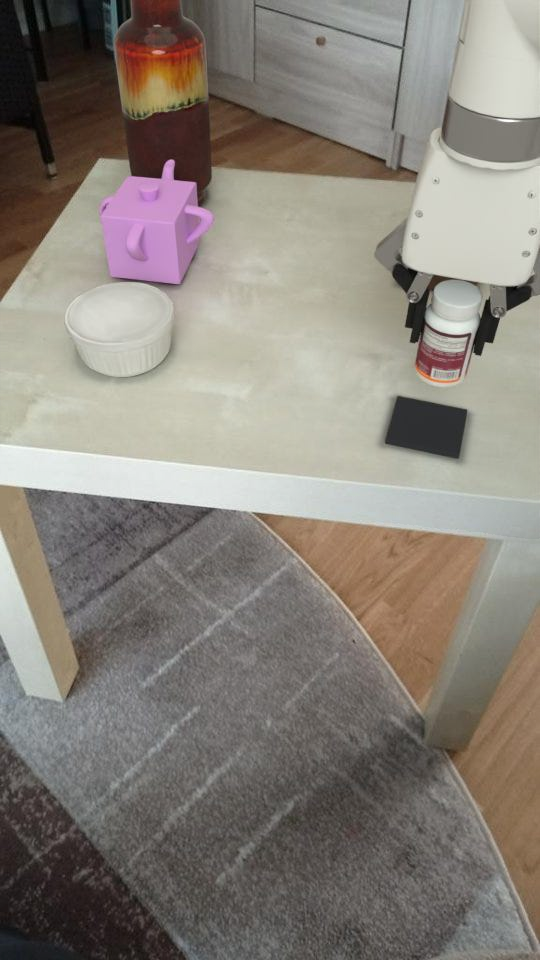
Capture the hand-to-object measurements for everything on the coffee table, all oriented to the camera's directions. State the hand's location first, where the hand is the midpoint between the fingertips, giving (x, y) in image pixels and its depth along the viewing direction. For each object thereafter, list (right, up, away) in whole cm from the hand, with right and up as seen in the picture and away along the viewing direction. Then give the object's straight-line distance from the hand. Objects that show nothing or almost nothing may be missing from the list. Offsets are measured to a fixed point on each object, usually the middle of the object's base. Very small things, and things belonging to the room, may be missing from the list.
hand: (447, 338), depth 64 cm
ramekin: (-31, +1, +16) cm, 35 cm away
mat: (0, -7, +8) cm, 11 cm away
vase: (-29, +27, +39) cm, 56 cm away
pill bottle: (0, -3, +3) cm, 4 cm away
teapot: (-29, +15, +28) cm, 43 cm away
